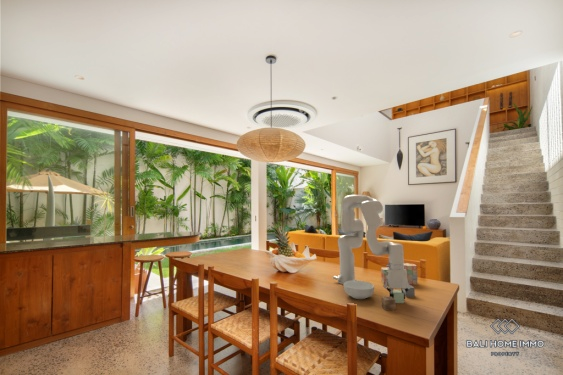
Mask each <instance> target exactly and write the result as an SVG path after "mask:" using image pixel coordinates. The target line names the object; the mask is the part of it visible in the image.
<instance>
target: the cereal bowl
mask: <svg viewBox="0 0 563 375" xmlns="http://www.w3.org/2000/svg"><path fill="white" fill-rule="evenodd" d="M343 290H344V292H345V293H346V294H347V295H348V296H350V297H351V298H353V299H354V300H355V299H356V300H365V299H366V298H370V297H371V296H373V295H374V291H375V285H374V284H373V283H371V282H369V281H365V280H357V279H355V280H352V281H346V282H344V284H343Z"/></svg>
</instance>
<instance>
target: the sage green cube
mask: <svg viewBox="0 0 563 375" xmlns="http://www.w3.org/2000/svg"><path fill="white" fill-rule="evenodd" d="M393 294H394V300H395V304H404V303H405V299H404V293H402V292H401V289H397V290H396V289H393Z"/></svg>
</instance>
